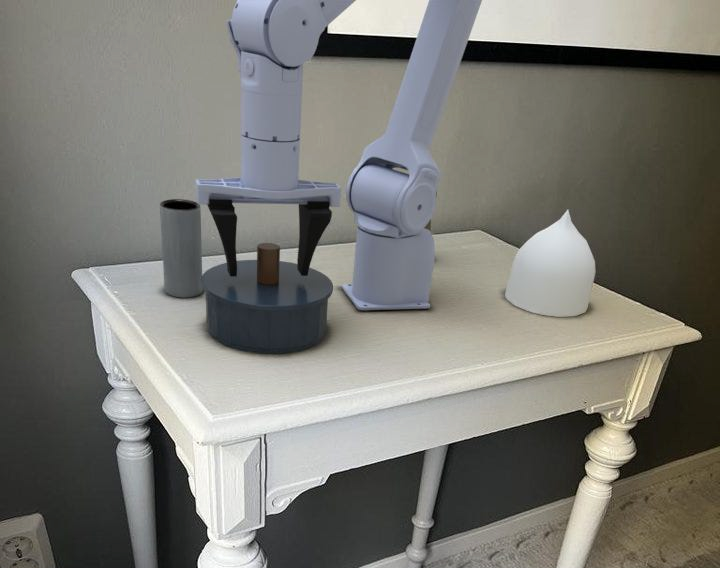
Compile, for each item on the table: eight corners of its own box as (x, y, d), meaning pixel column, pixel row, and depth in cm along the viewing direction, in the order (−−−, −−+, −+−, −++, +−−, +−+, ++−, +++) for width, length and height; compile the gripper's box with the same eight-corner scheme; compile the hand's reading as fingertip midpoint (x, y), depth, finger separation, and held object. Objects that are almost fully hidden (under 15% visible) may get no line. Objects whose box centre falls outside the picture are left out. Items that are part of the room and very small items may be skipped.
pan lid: (315, 268, 88) (317, 226, 85) (347, 314, 77) (351, 268, 74) (194, 269, 84) (192, 225, 81) (210, 318, 73) (209, 269, 70)
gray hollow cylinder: (194, 300, 88) (191, 212, 82) (158, 294, 88) (152, 206, 82) (208, 287, 91) (206, 202, 85) (173, 281, 92) (169, 196, 86)
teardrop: (605, 311, 97) (632, 218, 90) (543, 321, 92) (567, 224, 85) (548, 282, 105) (569, 195, 98) (488, 290, 100) (505, 199, 93)
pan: (310, 305, 90) (312, 264, 87) (338, 351, 79) (342, 307, 77) (200, 307, 86) (199, 265, 83) (215, 356, 76) (214, 310, 73)
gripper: (331, 131, 77) (323, 260, 84) (190, 124, 72) (195, 260, 80) (350, 145, 71) (339, 282, 79) (198, 139, 67) (202, 283, 75)
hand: (267, 273), depth 79 cm, fingers open, 7 cm apart
